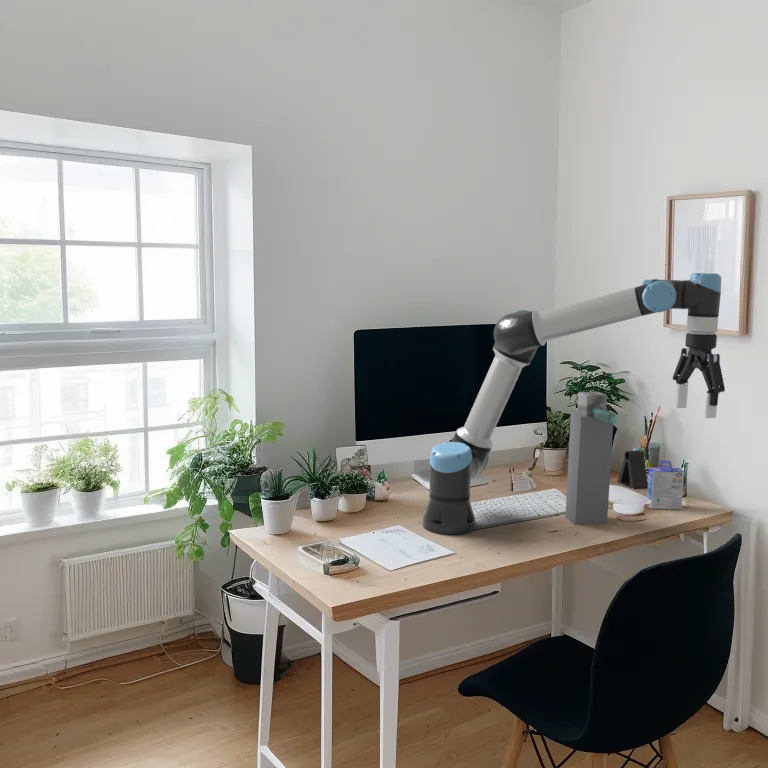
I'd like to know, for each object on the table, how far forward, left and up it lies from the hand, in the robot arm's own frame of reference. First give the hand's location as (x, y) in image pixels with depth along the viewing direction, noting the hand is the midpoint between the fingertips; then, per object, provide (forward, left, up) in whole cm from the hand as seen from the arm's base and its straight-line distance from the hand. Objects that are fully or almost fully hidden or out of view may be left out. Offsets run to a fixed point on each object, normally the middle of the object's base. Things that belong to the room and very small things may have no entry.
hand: (695, 412), depth 207 cm
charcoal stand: (-18, +23, -37) cm, 47 cm away
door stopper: (+14, +56, -37) cm, 68 cm away
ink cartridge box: (+12, +32, -37) cm, 50 cm away
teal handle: (-18, +19, -5) cm, 26 cm away
